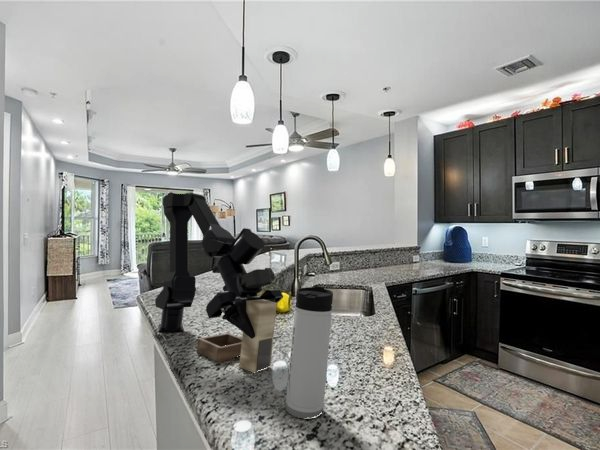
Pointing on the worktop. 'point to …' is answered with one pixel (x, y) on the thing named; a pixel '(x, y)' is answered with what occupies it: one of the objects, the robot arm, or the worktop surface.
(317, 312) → the travel mug
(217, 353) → the post socket
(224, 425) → the worktop surface
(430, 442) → the worktop surface
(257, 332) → the block
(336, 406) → the worktop surface
